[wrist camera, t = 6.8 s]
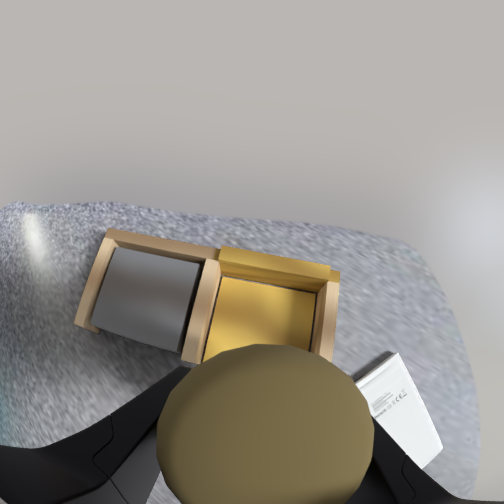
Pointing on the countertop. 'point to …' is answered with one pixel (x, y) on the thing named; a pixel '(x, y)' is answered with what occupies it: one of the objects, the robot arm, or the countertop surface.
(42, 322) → the countertop surface
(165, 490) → the countertop surface
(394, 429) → the external hard drive
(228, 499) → the olive brown pawn
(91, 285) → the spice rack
